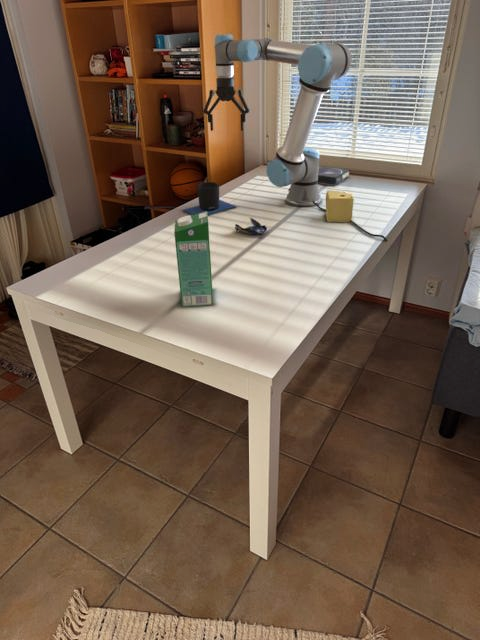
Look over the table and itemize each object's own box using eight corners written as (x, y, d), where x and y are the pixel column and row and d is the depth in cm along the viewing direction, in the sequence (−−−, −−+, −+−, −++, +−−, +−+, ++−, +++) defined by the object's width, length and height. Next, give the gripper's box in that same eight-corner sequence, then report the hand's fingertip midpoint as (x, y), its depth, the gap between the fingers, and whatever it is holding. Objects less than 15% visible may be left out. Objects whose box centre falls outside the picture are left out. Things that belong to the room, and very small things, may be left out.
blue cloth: (235, 207, 208) (235, 206, 207) (198, 218, 197) (198, 216, 197) (219, 201, 216) (219, 199, 215) (183, 210, 205) (183, 209, 205)
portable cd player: (336, 185, 232) (336, 177, 230) (304, 181, 240) (305, 173, 238) (348, 177, 243) (349, 169, 241) (318, 173, 251) (319, 166, 249)
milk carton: (182, 291, 142) (174, 212, 129) (212, 290, 143) (207, 210, 130) (181, 306, 135) (173, 223, 121) (213, 304, 135) (208, 222, 122)
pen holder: (195, 210, 204) (193, 187, 199) (204, 203, 211) (202, 181, 206) (215, 212, 201) (214, 189, 196) (223, 205, 209) (222, 182, 203)
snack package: (249, 225, 189) (229, 232, 182) (251, 210, 185) (231, 217, 178) (272, 237, 183) (252, 245, 176) (274, 222, 179) (254, 230, 172)
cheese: (349, 213, 197) (351, 190, 192) (352, 222, 188) (354, 198, 183) (324, 213, 198) (326, 190, 193) (325, 222, 189) (327, 198, 184)
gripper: (255, 75, 200) (255, 128, 211) (197, 76, 203) (201, 128, 214) (253, 77, 194) (254, 131, 205) (194, 78, 197) (198, 131, 208)
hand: (227, 130), depth 210 cm, fingers open, 13 cm apart
